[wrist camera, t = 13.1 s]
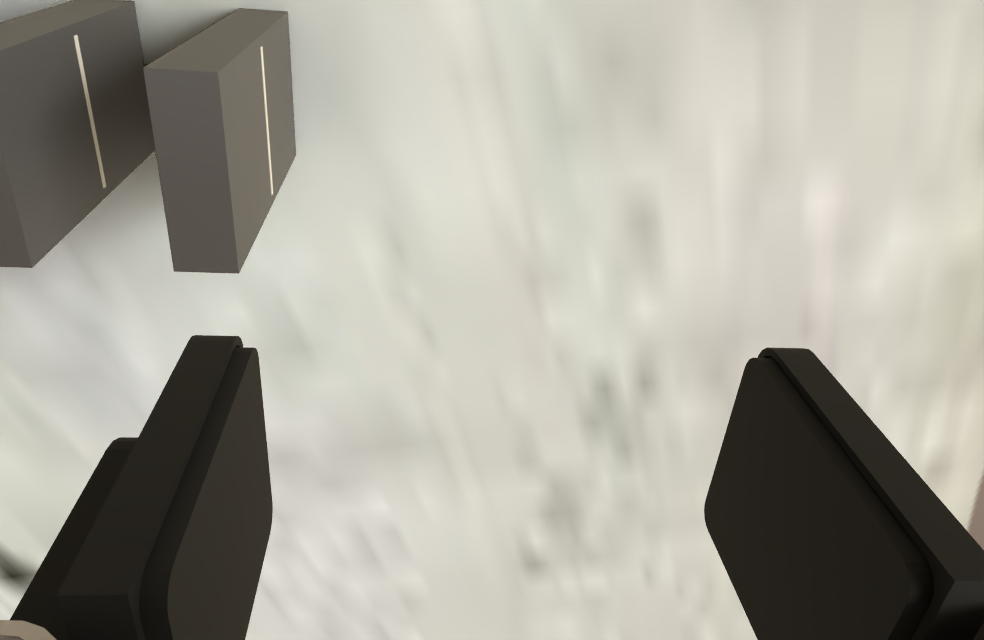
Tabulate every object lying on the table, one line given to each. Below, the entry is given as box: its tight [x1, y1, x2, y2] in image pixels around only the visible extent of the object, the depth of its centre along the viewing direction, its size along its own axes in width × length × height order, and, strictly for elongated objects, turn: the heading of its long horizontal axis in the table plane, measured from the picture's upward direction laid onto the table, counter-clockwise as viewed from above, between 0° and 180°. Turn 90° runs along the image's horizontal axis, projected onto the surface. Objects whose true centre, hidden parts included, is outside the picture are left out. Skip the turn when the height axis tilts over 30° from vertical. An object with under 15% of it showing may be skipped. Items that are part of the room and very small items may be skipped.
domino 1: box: [0, 0, 155, 268], centre depth 21 cm, size 2×5×10 cm, turn 176°
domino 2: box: [143, 8, 296, 273], centre depth 22 cm, size 2×5×10 cm, turn 176°
